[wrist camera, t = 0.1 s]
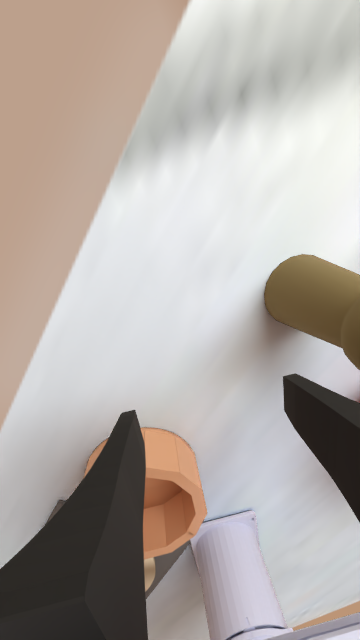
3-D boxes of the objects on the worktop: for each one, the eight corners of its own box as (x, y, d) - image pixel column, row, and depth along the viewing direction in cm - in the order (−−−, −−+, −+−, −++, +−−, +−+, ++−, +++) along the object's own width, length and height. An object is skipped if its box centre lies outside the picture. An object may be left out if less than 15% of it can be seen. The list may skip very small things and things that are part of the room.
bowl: (203, 495, 29) (213, 541, 24) (103, 520, 28) (96, 572, 24) (186, 415, 25) (194, 454, 20) (70, 443, 24) (54, 489, 20)
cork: (344, 264, 22) (525, 298, 11) (314, 330, 23) (447, 412, 13) (280, 245, 20) (417, 264, 10) (253, 317, 22) (347, 395, 12)
